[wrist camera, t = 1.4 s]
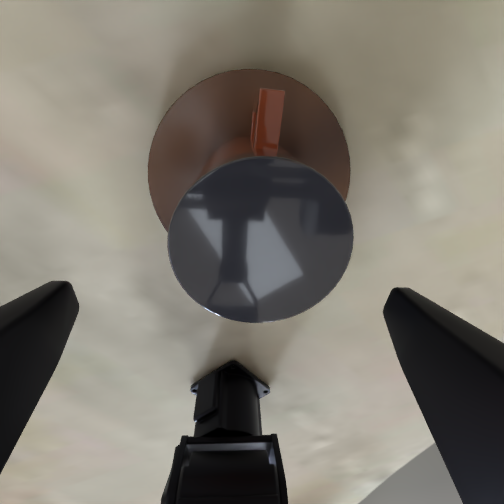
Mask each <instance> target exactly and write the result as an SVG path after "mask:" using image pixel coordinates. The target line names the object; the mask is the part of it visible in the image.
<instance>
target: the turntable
mask: <svg viewBox="0 0 504 504" xmlns="http://www.w3.org/2000/svg"><path fill="white" fill-rule="evenodd" d="M260 88H267V89H275V90H284V91H285V99H284V107H283V115H282V122H281V130H280V137H279V144H280V145H282V146H283V147H284V148H286V149H287V150H288V151H289V152H291V153H292V154H293V155H294V156H295V157H297V158H298V159H299V160H301V161H303V162H305V163H307V164H308V165H310V166H311V167H313V168H314V169H316V170H317V171H318V172H320V173H321V174H322V175H323V176H325V177H326V178H327V179H328V180H329V181H330V182H331V183H332V184H333V185H334V186H335V187H336V189H337V190H338V191H339V192H340V194H341V195H342V197H343V199H344V201H346V198H347V193H348V188H349V182H350V158H349V152H348V147H347V143H346V140H345V137H344V134H343V131H342V129H341V127H340V125H339V123H338V121H337V119H336V117H335V116H334V114H333V113H332V112H331V110H330V109H329V107H328V106H327V105H326V104H325V103H324V102H323V100H322V99H321V98H320V97H319V96H318V95H317V94H315V93H314V92H313V91H312V90H310V89H309V88H308V87H307V86H305V85H303V84H302V83H300V82H298V81H296V80H294V79H293V78H290V77H288V76H285V75H282V74H280V73H276V72H272V71H267V70H261V69H241V70H232V71H228V72H224V73H220V74H217V75H214V76H212V77H210V78H207V79H205V80H203V81H201V82H199V83H198V84H196V85H195V86H193V87H192V88H190V89H189V90H187V91H186V92H185V93H184V94H183V95H182V96H181V97H180V98H178V99H177V100H176V101H175V103H174V104H173V105H172V106H171V108H170V109H169V110H168V111H167V113H166V114H165V116H164V117H163V119H162V121H161V122H160V124H159V126H158V129H157V131H156V133H155V136H154V138H153V142H152V145H151V149H150V153H149V162H148V183H149V190H150V195H151V198H152V202H153V206H154V208H155V210H156V213H157V215H158V217H159V219H160V221H161V223H162V224H163V226H164V228H165V229H166V231H167V232H168V231H169V225H170V222H171V219H172V216H173V213H174V211H175V209H176V207H177V205H178V203H179V201H180V199H181V198H182V196H183V195H184V193H185V192H186V190H187V189H188V187H189V186H190V185H191V183H192V182H193V181H194V180H195V179H196V178H197V176H198V174H199V173H200V171H201V169H202V168H203V166H204V164H205V162H206V161H207V159H208V158H209V156H210V155H211V154H212V153H213V152H214V150H215V149H216V148H218V147H219V146H220V145H221V144H223V143H225V142H226V141H228V140H231V139H233V138H236V137H240V136H246V135H250V128H251V117H252V105H253V95H254V94H255V93H256V92H257V91H258V90H259V89H260Z"/></svg>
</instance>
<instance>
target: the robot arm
mask: <svg viewBox="0 0 504 504" xmlns="http://www.w3.org/2000/svg"><path fill="white" fill-rule="evenodd" d="M78 312H79V303H78V300H77V297H76V295H75V292H74V290H73V287H72V285H71V284H70V283H69V282H67V281H51V282H48V283H46V284H44V285H42V286H40V287H38V288H36V289H34V290H32V291H30V292H28V293H26V294H25V295H23V296H21V297H19V298H17V299H15V300H13V301H11V302H9V303H7V304H5V305H3V306H1V307H0V474H1V472H2V470H3V468H4V466H5V464H6V462H7V460H8V459H9V457H10V455H11V453H12V451H13V449H14V447H15V445H16V443H17V441H18V439H19V438H20V436H21V434H22V432H23V430H24V428H25V426H26V424H27V422H28V420H29V418H30V417H31V415H32V413H33V411H34V409H35V407H36V405H37V403H38V401H39V399H40V397H41V396H42V394H43V392H44V390H45V388H46V386H47V384H48V382H49V380H50V378H51V376H52V375H53V373H54V371H55V368H56V366H57V364H58V362H59V360H60V358H61V355H62V353H63V350H64V348H65V345H66V343H67V340H68V337H69V335H70V332H71V330H72V327H73V325H74V322H75V320H76V317H77V315H78ZM383 315H384V318H385V321H386V324H387V327H388V330H389V333H390V336H391V339H392V342H393V345H394V348H395V351H396V354H397V357H398V360H399V362H400V365H401V367H402V370H403V372H404V374H405V376H406V379H407V381H408V383H409V385H410V387H411V390H412V392H413V394H414V396H415V398H416V401H417V403H418V405H419V407H420V409H421V412H422V414H423V416H424V418H425V421H426V423H427V425H428V427H429V429H430V432H431V434H432V436H433V438H434V440H435V443H436V445H437V447H438V449H439V451H440V454H441V456H442V458H443V460H444V462H445V465H446V467H447V469H448V471H449V473H450V476H451V478H452V480H453V482H454V484H455V487H456V489H457V491H458V493H459V495H460V498H461V500H462V502H463V504H504V343H502V342H501V341H499V340H497V339H496V338H494V337H492V336H490V335H489V334H487V333H485V332H484V331H482V330H480V329H478V328H477V327H475V326H473V325H472V324H470V323H468V322H466V321H465V320H463V319H461V318H460V317H458V316H456V315H455V314H453V313H451V312H449V311H448V310H446V309H444V308H443V307H441V306H439V305H437V304H436V303H434V302H432V301H431V300H429V299H427V298H425V297H424V296H422V295H420V294H419V293H417V292H415V291H413V290H412V289H410V288H398V287H396V288H394V289H392V291H391V292H390V295H389V297H388V299H387V301H386V304H385V306H384V309H383ZM233 365H234V366H233ZM190 391H191V392H192V393H193V394H195V395H196V396H197V397H196V404H195V411H194V421H195V422H196V424H195V432H194V437H188V435H187V436H182V437H181V442H180V445H178V446H177V447H176V448H175V453H174V459H173V464H172V468H171V472H170V475H169V478H168V481H167V483H166V486H165V489H164V492H163V495H162V499H161V504H288V496H287V487H286V480H285V474H284V469H283V464H282V459H281V453H280V448H279V443H278V438H277V434H271V435H262V427H261V414H260V401H259V399H260V398H262V397H264V396H265V395H267V394H269V393H270V387H269V386H267V385H266V384H265V383H264V382H262V381H261V380H260V379H258V378H257V377H256V376H255V375H253V374H252V373H251V372H249V371H248V370H247V369H246V368H244V367H243V366H242V365H240V364H239V363H238V362H237V361H230V362H228V363H227V364H225V365H223V366H222V367H220V368H219V369H217V370H215V371H214V372H212V373H211V374H209V375H207V376H206V377H204V378H203V379H201V380H199V381H198V382H196V383H195V384H193V385H192V386H191V389H190Z"/></svg>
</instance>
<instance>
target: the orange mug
mask: <svg viewBox="0 0 504 504" xmlns="http://www.w3.org/2000/svg"><path fill="white" fill-rule="evenodd" d="M284 99H285V91H284V90H275V89H267V88H260V89H259V90H258V91H257V92H256V93H255V94H254V95H253V105H252V117H251V128H250V135H246V136H240V137H236V138H233V139H231V140H228V141H226V142H225V143H223V144H221V145H220V146H219V147H218V148H216V149H215V150H214V152H213V153H212V154H211V155H210V156H209V158H208V159H207V161H206V162H205V164H204V166H203V168H202V169H201V171H200V173H199V174H198V176H197V178H196V179H195V180H194V181H193V182H192V183H191V185H190V186H189V187H188V189H187V190H186V192H185V193H184V195H183V196H182V198H181V199H180V201H179V203H178V205H177V207H176V209H175V211H174V213H173V216H172V219H171V222H170V225H169V231H168V254H169V259H170V263H171V267H172V269H173V271H174V274H175V276H176V278H177V280H178V281H179V283H180V285H181V286H182V288H183V289H184V290H185V291H186V292H187V294H188V295H189V296H190V297H191V298H192V299H193V300H195V301H196V302H197V303H198V304H200V305H201V306H202V307H204V308H205V309H207V310H209V311H211V312H212V313H214V314H217V315H219V316H221V317H224V318H228V319H231V320H235V321H240V322H249V323H265V322H274V321H279V320H283V319H287V318H290V317H293V316H295V315H298V314H300V313H302V312H304V311H306V310H308V309H310V308H311V307H313V306H314V305H316V304H317V303H319V302H320V301H321V300H322V299H323V298H325V297H326V296H327V295H328V294H329V293H330V292H331V291H332V290H333V288H334V287H335V286H336V285H337V283H338V282H339V281H340V279H341V278H342V276H343V274H344V272H345V270H346V268H347V266H348V263H349V260H350V257H351V253H352V248H353V224H352V219H351V215H350V212H349V210H348V207H347V204H346V202H345V201H344V199H343V197H342V195H341V194H340V192H339V191H338V190H337V189H336V187H335V186H334V185H333V184H332V183H331V182H330V181H329V180H328V179H327V178H326V177H325V176H323V175H322V174H321V173H320V172H318V171H317V170H316V169H314V168H313V167H311V166H310V165H308V164H307V163H305V162H303V161H301V160H299V159H298V158H297V157H295V156H294V155H293V154H292V153H291V152H289V151H288V150H287V149H286V148H284V147H283V146H282V145H280V144H279V137H280V130H281V122H282V115H283V107H284Z"/></svg>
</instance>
